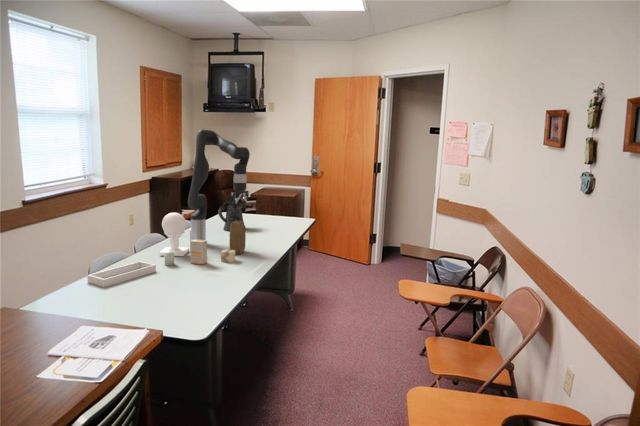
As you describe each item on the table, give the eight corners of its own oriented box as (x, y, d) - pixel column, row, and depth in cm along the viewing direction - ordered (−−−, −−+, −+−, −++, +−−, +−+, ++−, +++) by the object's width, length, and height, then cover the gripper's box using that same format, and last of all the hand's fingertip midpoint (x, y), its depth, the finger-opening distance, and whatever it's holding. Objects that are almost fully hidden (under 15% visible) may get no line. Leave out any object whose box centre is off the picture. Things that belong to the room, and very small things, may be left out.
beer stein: (249, 231, 317) (250, 199, 313) (231, 236, 301) (231, 202, 297) (234, 228, 326) (234, 197, 322) (215, 232, 310) (215, 199, 306)
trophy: (166, 250, 256) (165, 210, 252) (189, 250, 257) (188, 211, 253) (159, 256, 242) (158, 214, 238) (183, 256, 243) (182, 214, 239)
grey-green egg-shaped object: (162, 264, 226) (162, 252, 225) (169, 262, 230) (169, 250, 229) (169, 266, 224) (168, 253, 223) (176, 264, 228) (176, 251, 227)
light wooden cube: (221, 261, 236) (221, 251, 235) (225, 259, 242) (225, 249, 241) (230, 262, 235) (230, 252, 234) (235, 260, 240) (235, 250, 239)
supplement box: (207, 263, 232) (207, 240, 230) (202, 265, 228) (202, 242, 226) (195, 261, 235) (195, 238, 233) (190, 263, 231) (189, 240, 228)
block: (239, 255, 250) (239, 223, 247) (228, 254, 252) (228, 222, 249) (247, 251, 260) (247, 220, 257) (236, 250, 262) (236, 219, 259)
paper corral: (87, 282, 195) (87, 275, 194) (140, 267, 220) (140, 261, 219) (103, 287, 189) (103, 279, 188) (155, 271, 214) (155, 264, 214)
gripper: (242, 180, 249) (241, 206, 252) (226, 181, 236) (226, 209, 239) (252, 181, 246) (251, 208, 248) (237, 183, 233) (236, 211, 236)
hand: (239, 208), depth 244 cm, fingers open, 8 cm apart
